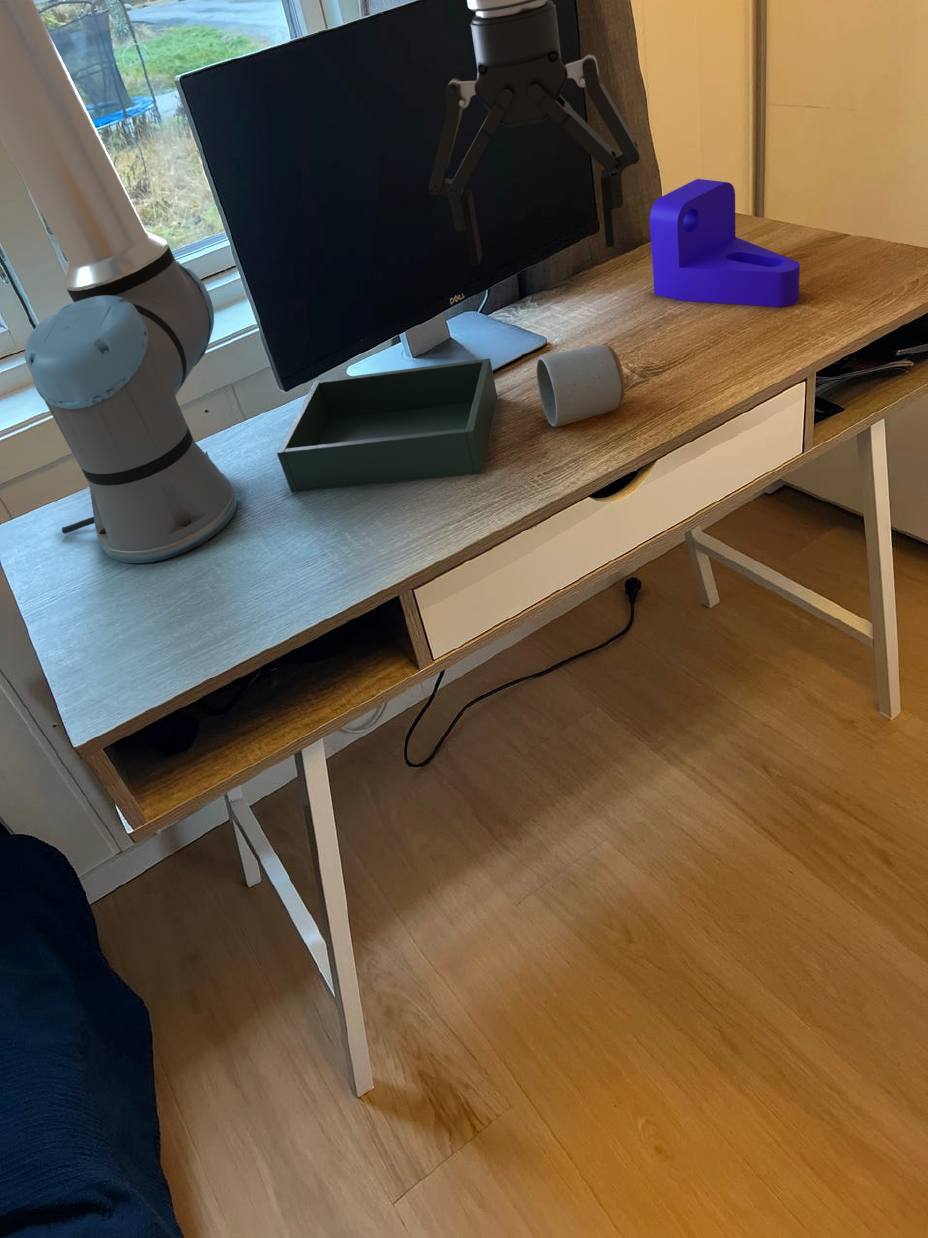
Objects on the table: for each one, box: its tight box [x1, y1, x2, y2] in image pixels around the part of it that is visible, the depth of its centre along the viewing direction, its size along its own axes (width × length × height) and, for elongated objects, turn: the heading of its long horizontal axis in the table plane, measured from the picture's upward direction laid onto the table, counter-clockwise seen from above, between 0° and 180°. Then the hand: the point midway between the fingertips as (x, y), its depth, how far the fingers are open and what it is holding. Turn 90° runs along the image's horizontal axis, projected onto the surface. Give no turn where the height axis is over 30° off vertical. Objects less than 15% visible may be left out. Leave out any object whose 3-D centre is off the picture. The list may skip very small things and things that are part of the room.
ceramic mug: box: [535, 344, 626, 428], centre depth 102 cm, size 11×8×8 cm
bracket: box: [649, 178, 801, 308], centre depth 116 cm, size 18×11×12 cm, turn 38°
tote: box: [276, 357, 498, 493], centre depth 105 cm, size 22×17×5 cm
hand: (542, 251), depth 94 cm, fingers open, 13 cm apart
